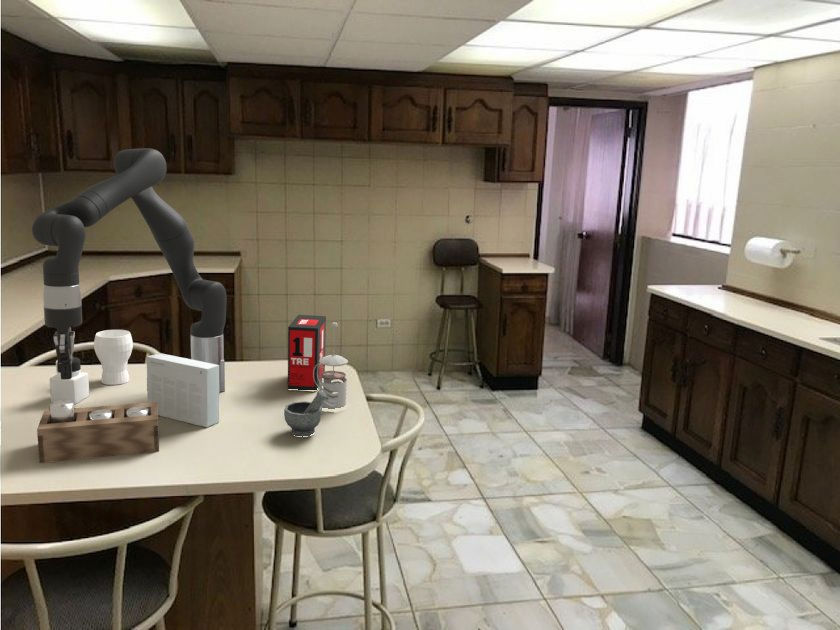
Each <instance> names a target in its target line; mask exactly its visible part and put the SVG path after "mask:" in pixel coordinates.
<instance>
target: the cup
mask: <svg viewBox="0 0 840 630" xmlns="http://www.w3.org/2000/svg"><path fill="white" fill-rule="evenodd" d="M133 347H134V344H133V338H132V334H131V332H130V331H129V330H125V329H106V330H102V331H98V332H96V334H95V335H94V341H93V348H94V349H93V350H94V351H95V354H96V357H97V359H98V360H99V362H100V363H101V369H102V373H101V384H104V385H107V386H108V385H109V386H113V385H122V384H125V383H128V382H130V376H129V372H128V360H129V359H130V357H131V354H132V351H133Z"/></svg>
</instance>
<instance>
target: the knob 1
mask: <svg viewBox="0 0 840 630" xmlns="http://www.w3.org/2000/svg"><path fill="white" fill-rule="evenodd" d="M74 408H75V404H73V401H70V400H60V401H55V402H51V403H50V404H49V410H50V413H51V423H63V422H75V420H74Z"/></svg>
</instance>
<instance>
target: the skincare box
mask: <svg viewBox="0 0 840 630" xmlns="http://www.w3.org/2000/svg"><path fill="white" fill-rule="evenodd" d="M146 391H147V394H146V395H147V396H146V397H147V398H146V399H147V400H146V401H147V402H146V403H150V402H157V411H158V416H159V417H160V416H161V417H164V418H168V419H171V420H176V421H179V422H184V423H187V424H192V425H195V426H200V427H204V428H209V427H211V426H213V425H215V424H217V422H218V423H219V422H220V392H219V365H216V364H211V363H206V362H201V361H196V360H191V358H186V357H180V356H176V355H172V354H165V353H162V352H159V353H155V354H152V355H147V356H146Z"/></svg>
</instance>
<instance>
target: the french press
mask: <svg viewBox="0 0 840 630" xmlns="http://www.w3.org/2000/svg"><path fill="white" fill-rule="evenodd" d="M330 326H331V328H333V343H335V340H336V339H335V335H336V334H335V332H336V331H335V330H336V328H337V327H338V323H337V322H332V323H331V324H330ZM332 353H333V354H328V355H325V357H323V358H321V359H320V360H319V362H320V363H319V364H320V365H321V364H323V365H324V367H332V370H325V372H322V373H321V376H322V377H323V380H322V378H320V379H319V378H318V381H319V386H318V385H317V383H316V382H315V379H314V382H315V383H316V385H317V386H318V387H319V388H318V391H323V392H325V393H326V394H327V398H326V399H325V400H324V401H323V403H322V405H321V406H322V408H328V409H335V408H341V407H344V406H345V405H346V403H347V385H348V384H347V381H348V380H347V378H346V373H345V372H344V371H339V370H335V367H341V366H342V367H343V366H345V365H347V364H348V362H349V359H346V358H345V357H343V356H341V355H338V354H335V351H333V352H332ZM319 364H317V365H319ZM317 365H316V366H317ZM320 365H319V366H320ZM316 366H315V368H316ZM319 366H318V368H319ZM324 367H322V365H321V368H324ZM315 368H314V370H315ZM318 368H317V377H318ZM314 370H313V378H314ZM336 380H337V381H336ZM338 380H340V381H338ZM341 381H342V382H341Z"/></svg>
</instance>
